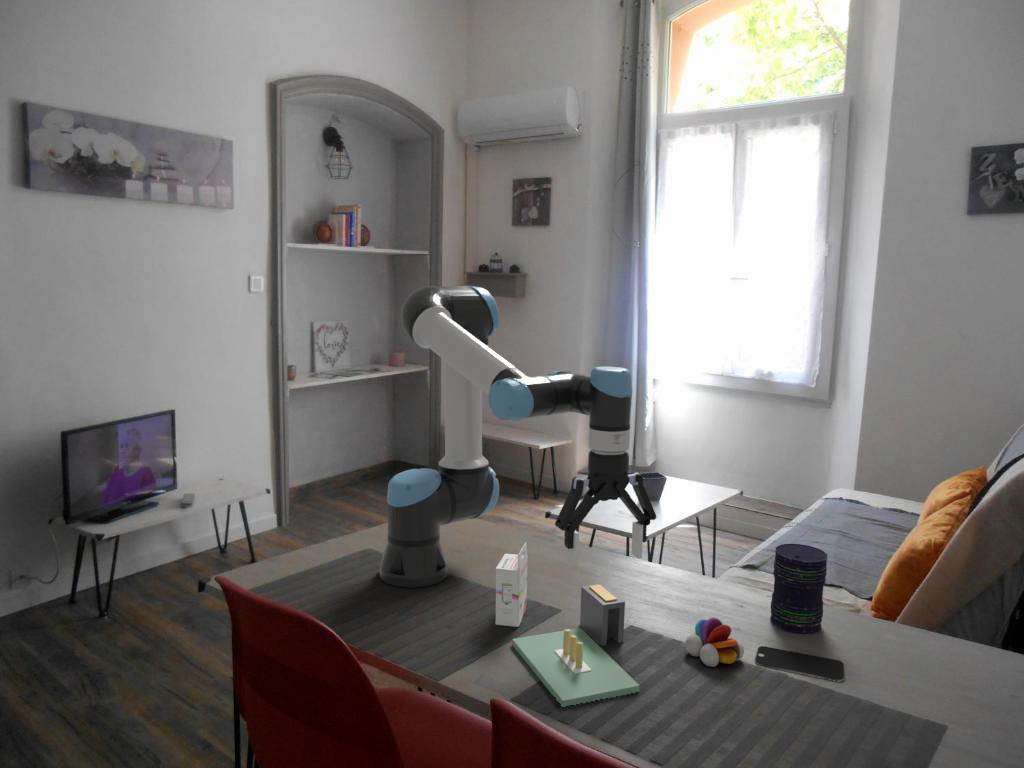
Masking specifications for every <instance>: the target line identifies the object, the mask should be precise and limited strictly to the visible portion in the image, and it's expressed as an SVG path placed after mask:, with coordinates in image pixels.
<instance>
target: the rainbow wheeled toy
mask: <svg viewBox="0 0 1024 768" xmlns="http://www.w3.org/2000/svg"><path fill="white" fill-rule="evenodd" d="M694 629H695V630H694V633H691V634H689V635H688V636H687V637H686V639H685V642H684V647H685V650H686V652H687V653H688V654H689V655H690V656H692V657H695V658H697V657H698V658H699V659H700V660H701V662H702V663H703V664H704V665H705V666H707V667H711V668H714V667H716V666H718V664H719V663H722V664H729V665H730V664H733V663H735V662H738V661H740V660H741V659H743V657H744V653H745V648H744V645H743V643H742V642H741V641H740V640H739V639H737V638H735V637H730V635H732V628H731V627H730V626H729V625H727V624H723V622H722V621H721V620H720V619H719V618H717V617H710V618H708V619H700V620H698V621H697V622H696V624H695V627H694ZM729 637H730V638H729Z"/></svg>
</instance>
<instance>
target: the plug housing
mask: <svg viewBox="0 0 1024 768" xmlns="http://www.w3.org/2000/svg"><path fill="white" fill-rule="evenodd" d="M580 591H581V592H580V611H579V612H580V615H579V619H580V620H579V626H581V627H582V628H583V629H584V631H586V632H587V633H588V634H589V636H590V637H592V638H593V640H594V641H596V642H597V643H598V645H599V646H602V647H603V646H608V643H607V642H608V636H610V637H611V638H613V640H614V641H615V642H616V643H618V644H619V643H624V632H625V613H626V612H625V611H626V601H625V600H624V599H622V598H621V597H620V596H619V595H617V593H615V592H614V591H612V590H611V589H610V588H609V587H608V586H606V585H605V583H596V584H595V583H594V584H589V585H582V586H581V589H580Z"/></svg>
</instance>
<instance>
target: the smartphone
mask: <svg viewBox="0 0 1024 768" xmlns="http://www.w3.org/2000/svg"><path fill="white" fill-rule="evenodd" d="M756 649H757V650H756V654H755V656H754V657H755V658H754V664H755V663H756V664H755V665H757V666H759V665H760V666H759V667H762V666H764V667H763V668H767V667H768V669H773V670H778V671H781V670H782V672H786V671H787V673H791V672H792V674H796V673H797V674H796V675H801V674H804V675H803V676H806V675H808V676H807V677H810V676H814V677H813V678H815V677H820V678H824V679H823V680H825V679H831V680H835V681H844V680H845V679H846V678H845V677H846V676H845V672H846V669H845V667H846V666H845V664H844V662H842V661H841V660H839V659H838V660H837V659H833V658H828V657H824V656H823V657H822V656H817V655H813V654H807V653H802V652H798V651H797V652H796V651H792V650H784V649H781V648H775V647H769V646H763V645H762V646H759V647H758V648H756ZM820 678H819V679H820ZM835 681H834V682H835ZM844 682H845V681H844Z"/></svg>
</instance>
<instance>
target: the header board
mask: <svg viewBox="0 0 1024 768" xmlns="http://www.w3.org/2000/svg"><path fill="white" fill-rule="evenodd" d="M511 645H512V647H513V648H514V649H515V651H517V653H518V654H519V655H520V657H521V658H522V659H523V660H524V661H525V662H526V664H527V665H528V667H529V668H530V669H531V670H532V672H533V673H534V674H535V675H536V676H537V678H538V679H539V680H540V682H541V683H542V684H543V686H545V688H546V689H547V690H548V691H549V693H550V694H551V695H552V697H553V698H554V697H555V698H556V699H555V698H554V699H555V700H556V701H557V703H558V702H559V703H560V704H561V705H560V704H559V703H558V704H559V705H560V706H561V708H562V707H564V708H566V707H565V706H569V705H574V706H577V705H576V704H579V705H581V704H580V703H583V704H587V703H586V702H588V703H592V702H591V701H593V702H596V701H595V700H598V701H601V700H600V699H603V700H606V698H608V699H612V697H613V698H616V696H618V697H622V695H623V696H627V694H628V695H632V694H631V693H633V694H637V693H636V692H638V693H640V684H639V683H638V682H637V681H635V680H634V678H633V677H632V676H631V675H629V674H628V673H627V672H626V671H625V670H624V669H623V668H622V667H621V666H620V664H618V663H617V662H616V661H615V660H614V659H613V658H612V657H611V656H610V655H609V654H608V653H607V652H606V651H605V650H604V649H603V648H601V647H600V645H599V644H597V643H596V642H595V640H594V639H592V638H591V636H590V635H588V634H587V633H586V632H585V630H583V629H582V628H581V627H577V628H573V629H572V628H571V629H569V628H565V629H563V630H560V631H558V630H557V631H553V632H547V633H542V634H535V635H528V636H522V637H515V638H512V641H511ZM610 697H611V698H610ZM569 707H570V706H569Z"/></svg>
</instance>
